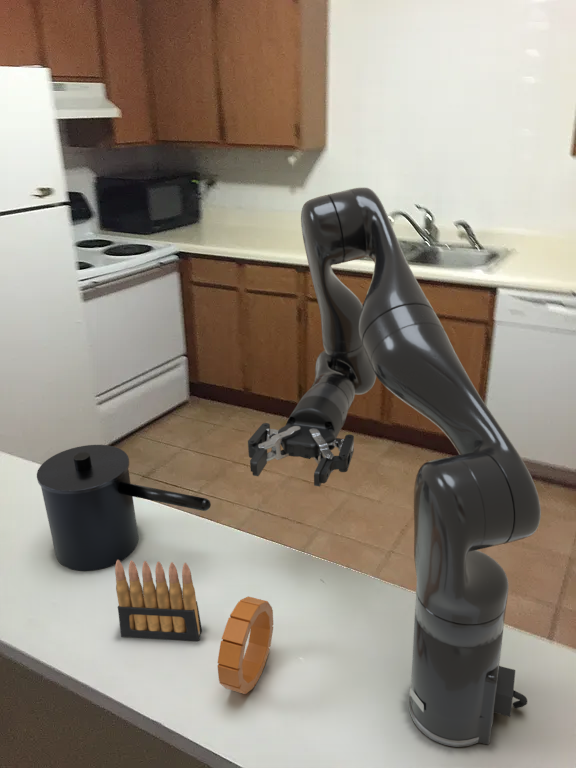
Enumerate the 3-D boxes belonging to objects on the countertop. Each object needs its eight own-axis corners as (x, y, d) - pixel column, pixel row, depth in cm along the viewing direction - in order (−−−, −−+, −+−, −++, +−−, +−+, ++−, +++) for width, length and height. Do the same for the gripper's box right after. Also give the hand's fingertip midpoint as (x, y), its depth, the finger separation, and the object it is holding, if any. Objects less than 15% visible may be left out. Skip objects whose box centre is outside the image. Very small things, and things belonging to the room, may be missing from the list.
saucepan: (235, 545, 106) (228, 456, 100) (194, 602, 95) (183, 505, 88) (88, 513, 116) (73, 429, 109) (35, 561, 104) (14, 471, 98)
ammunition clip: (202, 630, 90) (194, 558, 85) (199, 641, 88) (190, 568, 83) (125, 626, 91) (113, 555, 86) (120, 636, 89) (108, 564, 84)
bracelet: (275, 648, 86) (271, 584, 82) (241, 712, 78) (235, 645, 73) (256, 643, 87) (252, 579, 83) (221, 706, 79) (214, 639, 74)
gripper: (273, 389, 101) (232, 443, 88) (366, 400, 97) (338, 459, 83) (275, 431, 105) (236, 490, 91) (365, 444, 100) (338, 508, 87)
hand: (285, 475), depth 87 cm, fingers open, 8 cm apart
